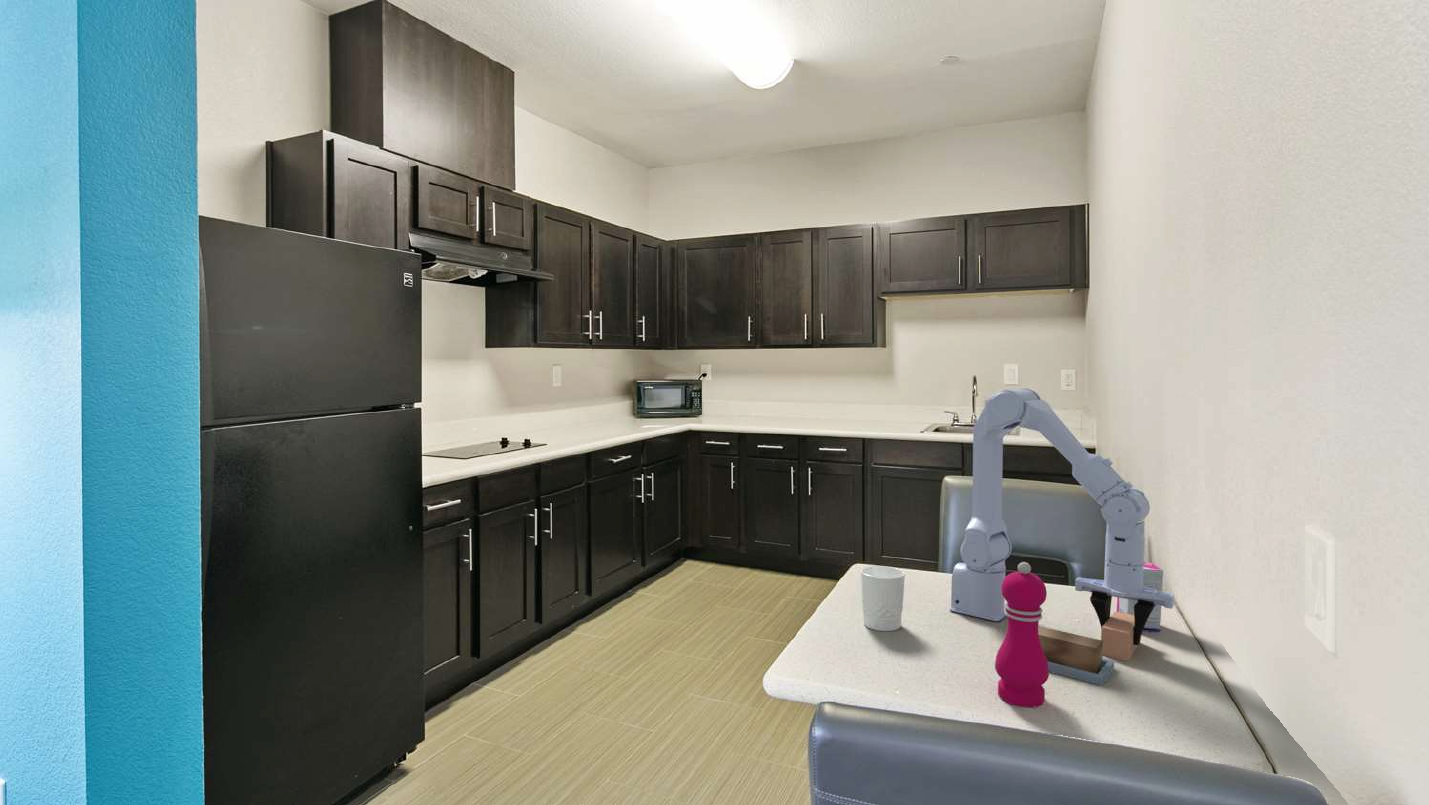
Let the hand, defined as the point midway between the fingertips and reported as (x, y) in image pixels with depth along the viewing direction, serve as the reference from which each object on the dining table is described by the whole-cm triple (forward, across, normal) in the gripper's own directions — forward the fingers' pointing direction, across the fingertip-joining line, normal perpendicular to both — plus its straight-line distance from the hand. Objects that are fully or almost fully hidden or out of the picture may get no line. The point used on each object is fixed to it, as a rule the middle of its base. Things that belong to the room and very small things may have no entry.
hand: (1121, 639), depth 122 cm
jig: (+1, -6, -14) cm, 15 cm away
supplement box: (+2, 0, +14) cm, 14 cm away
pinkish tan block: (+1, 0, 0) cm, 1 cm away
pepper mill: (+2, -7, -30) cm, 31 cm away
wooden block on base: (+2, -6, -14) cm, 15 cm away
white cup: (+2, -36, -17) cm, 40 cm away
